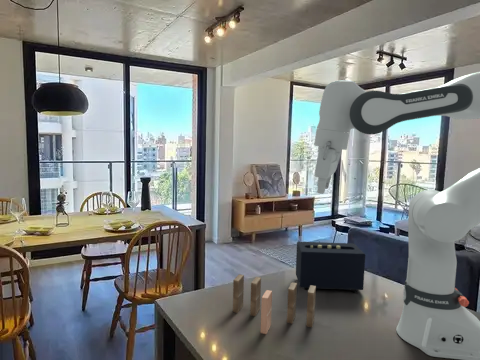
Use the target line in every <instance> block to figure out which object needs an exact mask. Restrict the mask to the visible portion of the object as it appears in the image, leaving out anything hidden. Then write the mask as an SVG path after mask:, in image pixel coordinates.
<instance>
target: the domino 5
mask: <svg viewBox="0 0 480 360" xmlns="http://www.w3.org/2000/svg"><path fill="white" fill-rule="evenodd" d="M316 290H317V288H316V286H312V285H310V288H309V290H307V298H306V299H307V304H306V323H305V324H306V327H308V328H313V326H314V322H315V316H316V315H315V314H316V311H315V310H316V293H317V291H316Z"/></svg>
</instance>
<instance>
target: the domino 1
mask: <svg viewBox="0 0 480 360" xmlns="http://www.w3.org/2000/svg"><path fill="white" fill-rule="evenodd" d="M244 283H245V275H244V274H238V275H237V276H236V277H235V278H234V279H233V283H232V284H233V285H232V286H233V287H232V288H233V289H232V312H233V313H236V314H239V312H240V311H241V309H242V308H243V307H244V295H245V294H244V290H245V287H244V286H245V285H244Z"/></svg>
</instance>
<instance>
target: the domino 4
mask: <svg viewBox="0 0 480 360" xmlns="http://www.w3.org/2000/svg"><path fill="white" fill-rule="evenodd" d="M297 290H298V283H297V282H291V283H290V284H289V287H288V288H287V307H286V308H287V309H286V311H287V312H286V313H287V314H286V323H287V324H294V321H295V318H296V315H297V293H298V292H297Z"/></svg>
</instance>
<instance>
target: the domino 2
mask: <svg viewBox="0 0 480 360" xmlns="http://www.w3.org/2000/svg"><path fill="white" fill-rule="evenodd" d="M261 292H262V277H260V276H256V277H255V278H254V279H253V280H252V281H251V283H250V304H249V305H250V308H249V309H250V310H249V311H250V313H249V315H250V317H251V316H252V317H256V316H257V314H258V313H259V312H260V311H261V298H262V296H261Z"/></svg>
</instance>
